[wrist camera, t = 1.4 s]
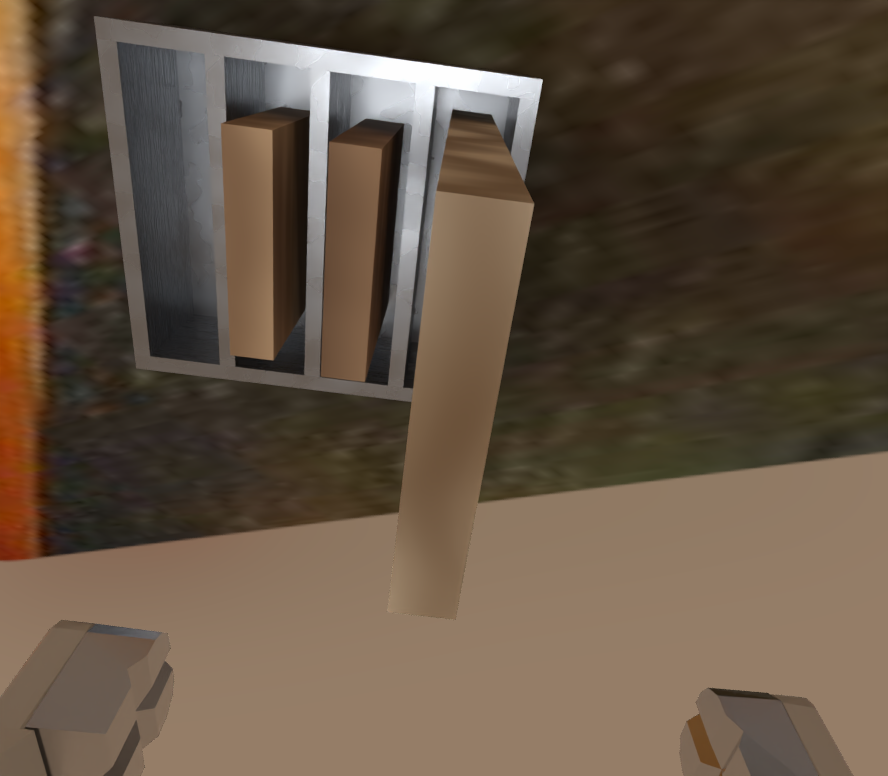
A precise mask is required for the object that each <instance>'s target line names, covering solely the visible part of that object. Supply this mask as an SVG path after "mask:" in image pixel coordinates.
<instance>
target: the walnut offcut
mask: <svg viewBox="0 0 888 776" xmlns="http://www.w3.org/2000/svg"><path fill="white" fill-rule="evenodd" d="M403 132H404V124H403V123H396V122H388V121H381V120H374V119H367V118H366V119H364V120H363V121H361V122H359V123H358V124H356V125H355V126H353V127H351V128H350V129H348V130H347V131H345V132H344V133H342V134H340V135H339V136H337V137H336V138H334V139H333V140H331V141H329V160H328V188H327V216H326V244H325V272H324V300H323V328H322V356H321V377H328V378H336V379H344V380H353V381H361V382H365V380H366V377H367V374H368V370H369V367H370V364H371V360H372V357H373V354H374V350H375V347H376V344H377V340H378V337H379V334H380V330H381V327H382V324H383V321H384V317H385V314H386V311H387V307H388V303H389V292H390V280H391V269H392V257H393V246H394V235H395V223H396V212H397V201H398V189H399V178H400V166H401V155H402V144H403Z"/></svg>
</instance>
